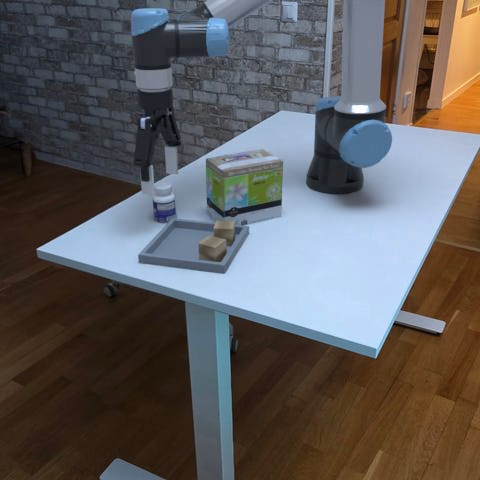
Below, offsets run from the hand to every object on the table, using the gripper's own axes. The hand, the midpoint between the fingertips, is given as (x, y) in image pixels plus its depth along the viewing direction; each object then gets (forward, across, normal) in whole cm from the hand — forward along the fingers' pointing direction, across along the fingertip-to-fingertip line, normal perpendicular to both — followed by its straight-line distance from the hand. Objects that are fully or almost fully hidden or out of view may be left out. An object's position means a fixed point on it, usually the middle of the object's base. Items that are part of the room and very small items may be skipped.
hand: (160, 183), depth 128 cm
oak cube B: (+9, +16, +18) cm, 25 cm away
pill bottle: (+10, 0, 0) cm, 10 cm away
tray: (+9, +12, +12) cm, 20 cm away
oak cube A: (+9, +8, +18) cm, 21 cm away
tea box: (+9, -6, +18) cm, 21 cm away
